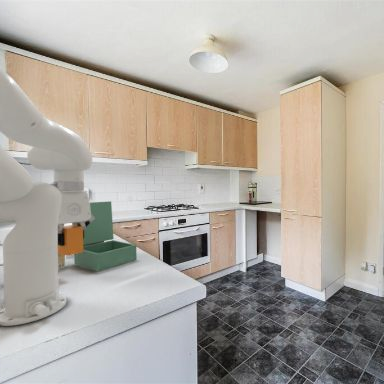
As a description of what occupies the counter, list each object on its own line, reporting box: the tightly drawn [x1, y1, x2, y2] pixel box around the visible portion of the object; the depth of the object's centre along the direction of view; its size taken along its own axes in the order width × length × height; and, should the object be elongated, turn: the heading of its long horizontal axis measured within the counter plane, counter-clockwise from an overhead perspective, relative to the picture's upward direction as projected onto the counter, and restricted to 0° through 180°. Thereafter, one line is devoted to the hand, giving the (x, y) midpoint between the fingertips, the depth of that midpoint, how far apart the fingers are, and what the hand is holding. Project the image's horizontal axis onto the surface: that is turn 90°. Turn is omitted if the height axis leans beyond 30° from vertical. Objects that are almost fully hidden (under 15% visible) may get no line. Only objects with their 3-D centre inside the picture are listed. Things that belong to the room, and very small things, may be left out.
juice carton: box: [58, 224, 83, 257], centre depth 75 cm, size 6×4×8 cm
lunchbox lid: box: [71, 200, 115, 245], centre depth 94 cm, size 16×15×4 cm
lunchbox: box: [73, 239, 137, 272], centre depth 90 cm, size 16×15×7 cm
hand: (70, 242), depth 75 cm, fingers closed on juice carton, 4 cm apart
